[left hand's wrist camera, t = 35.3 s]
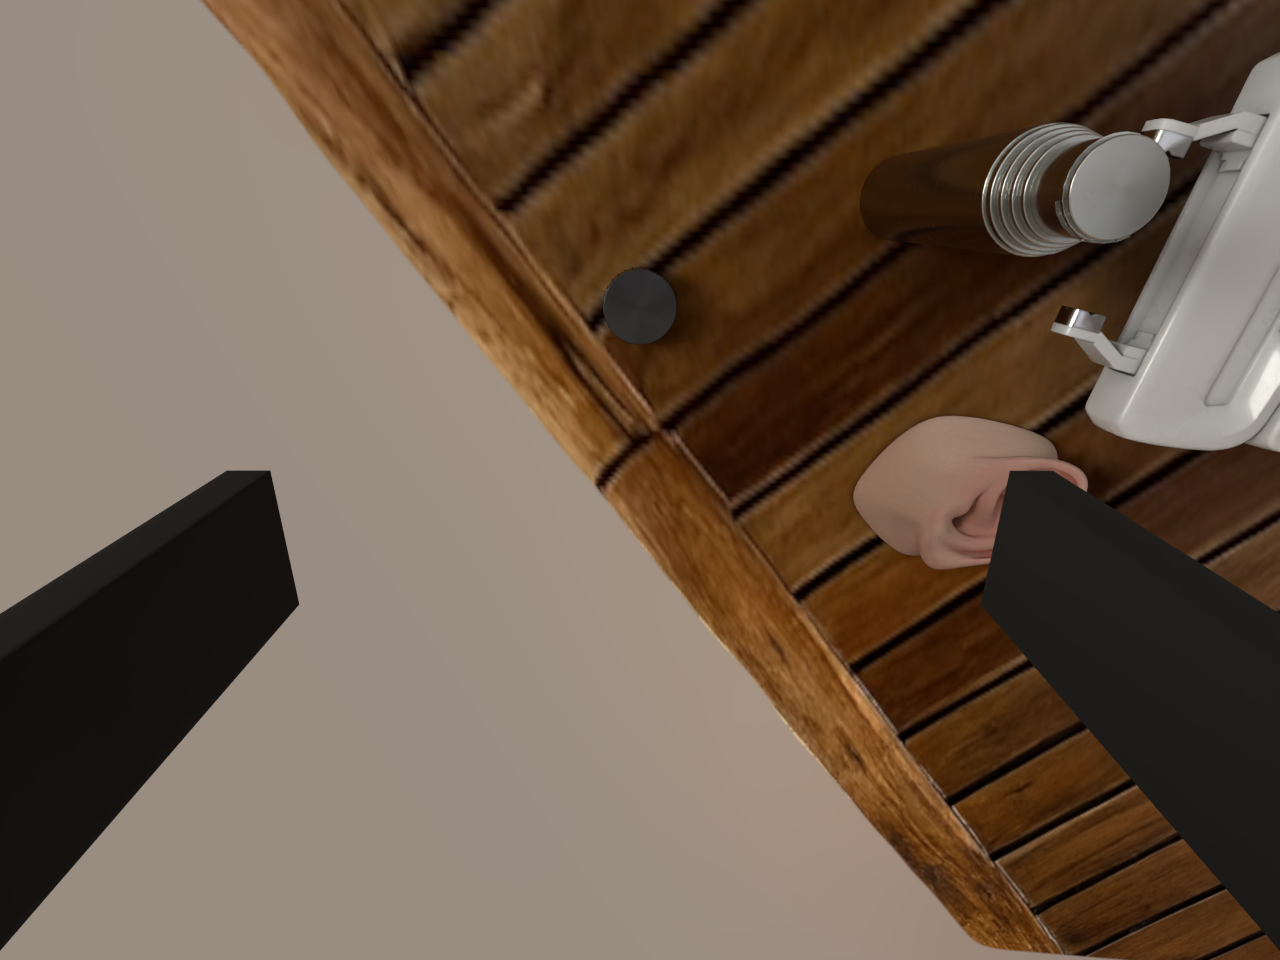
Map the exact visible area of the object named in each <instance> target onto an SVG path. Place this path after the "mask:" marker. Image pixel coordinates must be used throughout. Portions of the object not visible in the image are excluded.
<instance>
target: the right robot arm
mask: <svg viewBox="0 0 1280 960" xmlns="http://www.w3.org/2000/svg"><path fill="white" fill-rule="evenodd" d="M1141 135H1145V136H1147V137H1149V138H1152V139H1153V140H1154V141H1156V142H1157V143H1158V144H1159V145H1160V146H1161V147H1162V148H1163V150H1164V151H1165V153H1166V155H1167V157H1168V159H1169V158H1172V159H1180V158H1184V156H1185V154H1186V152H1187V151H1188V149H1189V147H1190V145H1191V143H1192V141H1195V140H1199V139H1201V140H1200V142H1199V144H1200V146H1202V147H1205V148H1209V149H1212V151H1211V153H1210V155H1209V157H1208V159H1207V161H1206V163H1205V165H1204V167H1203V169H1202V171H1201V173H1200V175H1199V177H1198V179H1197V181H1196V183H1195V185H1194V187H1193V189H1192V191H1191V193H1190V195H1189V197H1188V200H1187V202H1186V204H1185V206H1184V208H1183V210H1182V212H1181V214H1180V216H1179V218H1178V220H1177V222H1176V224H1175V226H1174V228H1173V230H1172V232H1171V234H1170V236H1169V238H1168V240H1167V242H1166V244H1165V246H1164V248H1163V250H1162V252H1161V254H1160V256H1159V258H1158V260H1157V262H1156V264H1155V266H1154V268H1153V270H1152V272H1151V274H1150V276H1149V278H1148V280H1147V282H1146V284H1145V286H1144V288H1143V290H1142V292H1141V294H1140V296H1139V298H1138V300H1137V302H1136V304H1135V306H1134V308H1133V310H1132V312H1131V314H1130V316H1129V318H1128V320H1127V322H1126V324H1125V326H1124V328H1123V330H1122V332H1121V334H1120V336H1119V338H1118V340H1117V342H1115V341H1111V340H1108V339H1107V338H1106V337H1105V336H1104V334H1103V333H1102V332H1101V328H1102V326H1103V324H1104V322H1105V320H1106V316H1102V315H1099V314H1095V313H1091V312H1087V311H1083V310H1079V309H1075V308H1071V307H1066V306H1062V307H1061V309H1060V311H1059V313H1058V315H1057V317H1056V319H1055V321H1054V324H1053V326H1052V328H1051V330H1050V331H1053V332H1057V333H1060V334H1064V335H1067V336H1070V337H1074V338H1075V340H1076V341H1077V343H1078V344H1079V345H1080V347H1081V348H1082V349H1083V350H1084V352H1085V353H1086V354H1087V356H1088V357H1089V358H1090V360H1091V361H1092V362H1095V363H1098V364H1101V365H1104V366H1105V367H1104V369H1103V371H1102V373H1101V375H1100V377H1099V379H1098V381H1097V383H1096V385H1095V387H1094V389H1093V391H1092V393H1091V395H1090V397H1089V398H1088V400H1087V403H1086V405H1085V410H1086V412H1087V414H1088V416H1089V417H1090V419H1091V421H1092V422H1093V423H1094V424H1095V425H1096V426H1098V427H1100V428H1102V429H1104V430H1106V431H1108V432H1110V433H1113V434H1115V435H1117V436H1120V437H1123V438H1126V439H1129V440H1133V441H1137V442H1142V443H1147V444H1153V445H1159V446H1165V447H1173V448H1182V449H1193V450H1223V449H1228V448H1232V447H1235V446H1238V445H1240V444H1242V443H1245V444H1249V445H1252V446H1256V447H1259V448H1263V449H1267V450H1272V451H1277V452H1280V52H1279V53H1277V54H1275V55H1273V56H1271V57H1269V58H1267V59H1265V60H1263V61H1261V62H1259V63H1258V64H1257V65H1256V66H1255V67H1254V68H1253V69H1252V71H1251V73H1250V75H1249V76H1248V78H1247V80H1246V82H1245V85H1244V87H1243V89H1242V91H1241V93H1240V95H1239V97H1238V99H1237V101H1236V103H1235V105H1234V107H1233V109H1232V111H1231V113H1230V114H1224V115H1217V116H1211V117H1208V118H1205V119H1202V120H1199V121H1195V122H1192V123H1189V124H1188V123H1184V122H1181V121H1177V120H1174V119H1164V118H1163V119H1155V120H1150V121H1146V123H1145V125H1144V127H1143V129H1142V132H1141Z"/></svg>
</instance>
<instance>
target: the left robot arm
mask: <svg viewBox="0 0 1280 960" xmlns="http://www.w3.org/2000/svg"><path fill="white" fill-rule="evenodd" d="M298 605H299V601H298V596H297V592H296V587H295V583H294V578H293V573H292V569H291V564H290V560H289V555H288V550H287V546H286V541H285V537H284V532H283V527H282V523H281V518H280V514H279V509H278V504H277V500H276V495H275V491H274V486H273V481H272V477H271V472H270V471H226V472H224V473H223V474H221V475H219V476H218V477H216V478H215V479H213V480H212V481H210V482H208V483H207V484H205V485H204V486H202V487H200V488H199V489H197V490H196V491H194V492H192V493H191V494H189V495H188V496H186V497H185V498H183V499H181V500H180V501H178V502H177V503H175V504H173V505H172V506H170V507H169V508H167V509H166V510H164V511H162V512H161V513H159V514H158V515H156V516H154V517H153V518H151V519H150V520H148V521H147V522H145V523H143V524H142V525H140V526H139V527H137V528H136V529H134V530H132V531H131V532H129V533H128V534H126V535H124V536H123V537H121V538H120V539H118V540H117V541H115V542H113V543H112V544H110V545H109V546H107V547H105V548H104V549H102V550H101V551H99V552H98V553H96V554H94V555H93V556H91V557H90V558H88V559H86V560H85V561H83V562H82V563H80V564H79V565H77V566H75V567H74V568H72V569H71V570H69V571H67V572H66V573H64V574H63V575H61V576H60V577H58V578H56V579H55V580H53V581H52V582H50V583H49V584H47V585H45V586H44V587H42V588H41V589H39V590H37V591H36V592H34V593H33V594H31V595H29V596H28V597H26V598H25V599H23V600H22V601H20V602H18V603H17V604H15V605H14V606H12V607H10V608H9V609H7V610H6V611H4V612H3V613H1V614H0V950H1V949H2V948H3V947H4V946H5V944H6V943H7V942H8V941H9V940H10V939H11V937H12V936H13V935H14V934H15V933H16V932H17V931H18V929H19V928H20V927H21V926H22V925H23V924H24V922H25V921H26V920H27V919H28V918H29V917H30V915H31V914H32V913H33V912H34V911H35V910H36V909H37V907H38V906H39V905H40V904H41V903H42V902H43V900H44V899H45V898H46V897H47V896H48V895H49V893H50V892H51V891H52V890H53V889H54V888H55V886H56V885H57V884H58V883H59V882H60V881H61V880H62V878H63V877H64V876H65V875H66V874H67V873H68V871H69V870H70V869H71V868H72V867H73V866H74V865H75V863H76V862H77V861H78V860H79V859H80V858H81V856H82V855H83V854H84V853H85V852H86V851H87V849H88V848H89V847H90V846H91V845H92V844H93V843H94V841H95V840H96V839H97V838H98V837H99V836H100V834H101V833H102V832H103V831H104V830H105V829H106V827H107V826H108V825H109V824H110V823H111V822H112V821H113V819H114V818H115V817H116V816H117V815H118V814H119V812H120V811H121V810H122V809H123V808H124V807H125V806H126V804H127V803H128V802H129V801H130V800H131V799H132V797H133V796H134V795H135V794H136V793H137V792H138V790H139V789H140V788H141V787H142V786H143V785H144V783H145V782H146V781H147V780H148V779H149V778H150V776H151V775H152V774H153V773H154V772H155V771H156V770H157V768H158V767H159V766H160V765H161V764H162V763H163V762H164V760H165V759H166V758H167V757H168V756H169V755H170V753H171V752H172V751H173V750H174V749H175V748H176V746H177V745H178V744H179V743H180V742H181V741H182V740H183V738H184V737H185V736H186V735H187V734H188V733H189V731H190V730H191V729H192V728H193V727H194V726H195V724H196V723H197V722H198V721H199V720H200V719H201V717H202V716H203V715H204V714H205V713H206V712H207V711H208V709H209V708H210V707H211V706H212V705H213V704H214V702H215V701H216V700H217V699H218V698H219V697H220V696H221V694H222V693H223V692H224V691H225V690H226V689H227V687H228V686H229V685H230V684H231V683H232V682H233V680H234V679H235V678H236V677H237V676H238V675H239V674H240V672H241V671H242V670H243V669H244V668H245V667H246V665H247V664H248V663H249V662H250V661H251V660H252V658H253V657H254V656H255V655H256V654H257V653H258V652H259V650H260V649H261V648H262V647H263V646H264V645H265V643H266V642H267V641H268V640H269V639H270V638H271V636H272V635H273V634H274V633H275V632H276V631H277V629H278V628H279V627H280V626H281V625H282V624H283V622H284V621H285V620H286V619H287V618H288V617H289V616H290V614H291V613H292V612H293V611H294V610H295V609H296V607H297V606H298ZM981 605H982V606H983V608H984V609H985V610H986V611H987V612H988V613H989V614H990V616H991V617H992V618H993V619H994V620H995V621H996V623H997V624H998V625H999V626H1000V627H1001V628H1002V630H1003V631H1004V632H1005V633H1006V634H1007V635H1008V636H1009V638H1010V639H1011V640H1012V641H1013V642H1014V643H1015V645H1016V646H1017V647H1018V648H1019V649H1020V650H1021V652H1022V653H1023V654H1024V655H1025V656H1026V657H1027V658H1028V660H1029V661H1030V662H1031V663H1032V664H1033V665H1034V667H1035V668H1036V669H1037V670H1038V671H1039V672H1040V674H1041V675H1042V676H1043V677H1044V678H1045V679H1046V680H1047V682H1048V683H1049V684H1050V685H1051V686H1052V687H1053V689H1054V690H1055V691H1056V692H1057V693H1058V694H1059V696H1060V697H1061V698H1062V699H1063V700H1064V701H1065V702H1066V704H1067V705H1068V706H1069V707H1070V708H1071V709H1072V711H1073V712H1074V713H1075V714H1076V715H1077V716H1078V718H1079V719H1080V720H1081V721H1082V722H1083V723H1084V724H1085V726H1086V727H1087V728H1088V729H1089V730H1090V731H1091V733H1092V734H1093V735H1094V736H1095V737H1096V738H1097V740H1098V741H1099V742H1100V743H1101V744H1102V745H1103V746H1104V748H1105V749H1106V750H1107V751H1108V752H1109V753H1110V755H1111V756H1112V757H1113V758H1114V759H1115V760H1116V762H1117V763H1118V764H1119V765H1120V766H1121V767H1122V768H1123V770H1124V771H1125V772H1126V773H1127V774H1128V775H1129V777H1130V778H1131V779H1132V780H1133V781H1134V782H1135V784H1136V785H1137V786H1138V787H1139V788H1140V789H1141V790H1142V792H1143V793H1144V794H1145V795H1146V796H1147V797H1148V799H1149V800H1150V801H1151V802H1152V803H1153V804H1154V806H1155V807H1156V808H1157V809H1158V810H1159V811H1160V812H1161V814H1162V815H1163V816H1164V817H1165V818H1166V819H1167V821H1168V822H1169V823H1170V824H1171V825H1172V826H1173V828H1174V829H1175V830H1176V831H1177V832H1178V833H1179V834H1180V836H1181V837H1182V838H1183V839H1184V840H1185V841H1186V843H1187V844H1188V845H1189V846H1190V847H1191V848H1192V850H1193V851H1194V852H1195V853H1196V854H1197V855H1198V856H1199V858H1200V859H1201V860H1202V861H1203V862H1204V863H1205V865H1206V866H1207V867H1208V868H1209V869H1210V870H1211V871H1212V873H1213V874H1214V875H1215V876H1216V877H1217V878H1218V880H1219V881H1220V882H1221V883H1222V884H1223V885H1224V887H1225V888H1226V889H1227V890H1228V891H1229V892H1230V893H1231V895H1232V896H1233V897H1234V898H1235V899H1236V900H1237V902H1238V903H1239V904H1240V905H1241V906H1242V907H1243V909H1244V910H1245V911H1246V912H1247V913H1248V914H1249V915H1250V917H1251V918H1252V919H1253V920H1254V921H1255V922H1256V924H1257V925H1258V926H1259V927H1260V928H1261V929H1262V931H1263V932H1264V933H1265V934H1266V935H1267V936H1268V937H1269V939H1270V940H1271V941H1272V942H1273V943H1274V944H1275V946H1276V947H1277V948H1278V949H1279V950H1280V614H1279V613H1277V612H1276V611H1274V610H1273V609H1271V608H1270V607H1268V606H1266V605H1265V604H1263V603H1262V602H1260V601H1258V600H1257V599H1255V598H1254V597H1252V596H1251V595H1249V594H1247V593H1246V592H1244V591H1243V590H1241V589H1239V588H1238V587H1236V586H1235V585H1233V584H1232V583H1230V582H1228V581H1227V580H1225V579H1224V578H1222V577H1220V576H1219V575H1217V574H1216V573H1214V572H1213V571H1211V570H1209V569H1208V568H1206V567H1205V566H1203V565H1201V564H1200V563H1198V562H1197V561H1195V560H1194V559H1192V558H1190V557H1189V556H1187V555H1186V554H1184V553H1182V552H1181V551H1179V550H1178V549H1176V548H1175V547H1173V546H1171V545H1170V544H1168V543H1167V542H1165V541H1163V540H1162V539H1160V538H1159V537H1157V536H1156V535H1154V534H1152V533H1151V532H1149V531H1148V530H1146V529H1144V528H1143V527H1141V526H1140V525H1138V524H1137V523H1135V522H1133V521H1132V520H1130V519H1129V518H1127V517H1126V516H1124V515H1122V514H1121V513H1119V512H1118V511H1116V510H1114V509H1113V508H1111V507H1110V506H1108V505H1107V504H1105V503H1103V502H1102V501H1100V500H1099V499H1097V498H1095V497H1094V496H1092V495H1091V494H1089V493H1088V492H1086V491H1084V490H1083V489H1081V488H1080V487H1078V486H1076V485H1075V484H1073V483H1072V482H1070V481H1069V480H1067V479H1065V478H1064V477H1062V476H1061V475H1059V474H1057V473H1056V472H1054V471H1010V472H1009V477H1008V481H1007V486H1006V491H1005V495H1004V500H1003V504H1002V509H1001V514H1000V518H999V523H998V527H997V532H996V537H995V541H994V546H993V550H992V555H991V560H990V564H989V569H988V573H987V578H986V583H985V587H984V592H983V596H982V601H981Z"/></svg>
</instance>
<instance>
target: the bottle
mask: <svg viewBox="0 0 1280 960" xmlns="http://www.w3.org/2000/svg"><path fill="white" fill-rule="evenodd" d="M1169 183H1170V165H1169V161H1168V157H1167V155H1166V153H1165V151H1164V150H1163V148H1162V147H1161V146H1160V145H1159V144H1158V143H1157V142H1156V141H1154V140H1153V139H1152V138H1149V137H1147V136H1145V135H1141V134H1140V133H1134V132H1128V131H1125V132H1117V133H1111V134H1109V135H1106V136H1104V137H1103V136H1102V135H1100V134H1098V133H1096V132H1094V131H1092V130H1091V129H1089V128H1087V127H1084V126H1082V125H1078V124H1073V123H1064V122H1053V123H1047V124H1041V125H1037V126H1032V127H1027V128H1023V129H1018V130H1013V131H1009V132H1004V133H999V134H994V135H990V136H985V137H980V138H976V139H971V140H966V141H961V142H957V143H952V144H947V145H943V146H938V147H933V148H929V149H924V150H919V151H914V152H910V153H905V154H900V155H896V156H893V157H890V158H888V159H886V160H884V161H883V162H881V163H880V164H879V165H878V166H877V167H876V168H875V169H874V170H873V171H872V172H871V173H870V175H869V176H868V178H867V180H866V181H865V184H864V186H863V189H862V192H861V198H860V209H861V214H862V217H863V220H864V222H865V224H866V225H867V227H868V228H869V229H870V230H871V232H873V233H874V234H875V235H877V236H878V237H880V238H883V239H886V240H892V241H900V242H908V243H917V244H925V245H933V246H941V247H949V248H958V249H966V250H974V251H982V252H990V253H999V254H1007V255H1015V256H1024V257H1039V256H1044V255H1050V254H1054V253H1057V252H1061V251H1063V250H1065V249H1067V248H1069V247H1071V246H1073V245H1075V244H1077V243H1079V242H1082V241H1084V242H1090V243H1101V244H1105V243H1113V242H1119V241H1121V240H1124V239H1126V238H1129V237H1131V234H1133V233H1134V232H1136V231H1138V230H1139V229H1140V228H1142V227H1143V226H1144V225H1146V224H1147V223H1148V222H1149V221H1150V220H1151V219H1152V218H1153V216H1154V215H1155V214H1156V213H1157V211H1158V210H1159V208H1160V207H1161V205H1162V203H1163V201H1164V199H1165V197H1166V194H1167V191H1168V188H1169Z"/></svg>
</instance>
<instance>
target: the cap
mask: <svg viewBox="0 0 1280 960" xmlns="http://www.w3.org/2000/svg"><path fill="white" fill-rule="evenodd" d="M604 297H605V298H604V302H603V313H604V317H605V321H606V323H607V324H608V326H609V328H610V329H611V331H612V332H613V333H614V334H615V335H616V336H617V337H618V338H620V339H622V340H623V341H625V342H628V343H631V344H639V345H641V344H648V343H652V342H654V341H656V340H658V339H660V338H661V337H663V336H664V335H665V334H666V333H667V332H668V330H669V329H670V327H671V326H672V324H673V322H674V319H675V315H676V306H677V304H676V299H675V298H676V296H675V295H674V292H673V288H672V287H671V286H670V284H669V281H668V280H666V279H665V278H664V276H663V275H661V274H659V273H658V272H657V271H656V270H655V271H654V270H651V269H649V268H641V267H639V268H633V267H632V269H628V270H624V272H622V273H620V274H618V275H617V277H616V278H615V279H614V280H613V279H612V281H611V284H610V285H609V286H608V287H607V292H606V293H605V295H604Z"/></svg>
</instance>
